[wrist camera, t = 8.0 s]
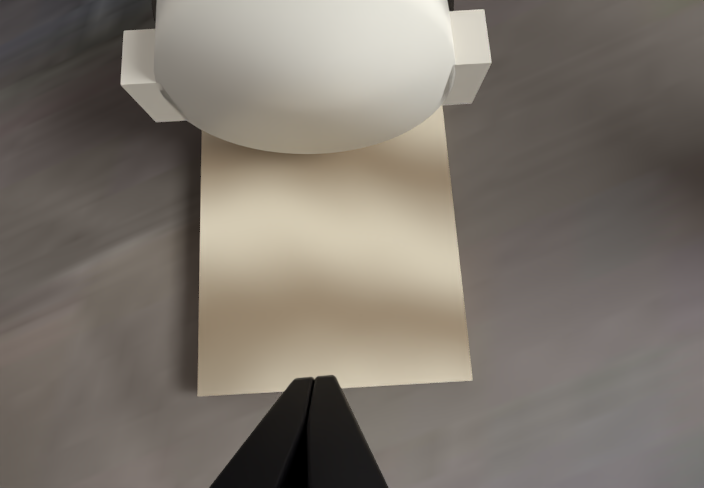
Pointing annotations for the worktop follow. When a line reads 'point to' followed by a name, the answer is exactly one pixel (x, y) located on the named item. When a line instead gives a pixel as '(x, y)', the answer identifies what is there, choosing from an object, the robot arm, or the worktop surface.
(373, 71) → the white oval slab
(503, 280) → the worktop surface
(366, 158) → the birch board
